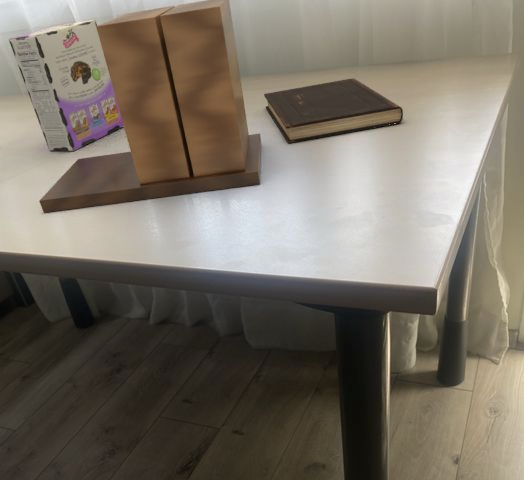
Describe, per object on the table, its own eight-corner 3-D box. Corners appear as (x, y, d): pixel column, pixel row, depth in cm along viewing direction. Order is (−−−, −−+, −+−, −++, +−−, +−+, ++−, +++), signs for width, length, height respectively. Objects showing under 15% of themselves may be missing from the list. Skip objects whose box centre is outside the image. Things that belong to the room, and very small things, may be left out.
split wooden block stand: (43, 212, 63) (-24, 46, 53) (81, 169, 76) (33, 28, 66) (260, 184, 61) (234, 4, 50) (261, 144, 74) (241, -6, 63)
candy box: (101, 126, 97) (70, 22, 87) (127, 126, 94) (97, 18, 84) (47, 151, 87) (5, 37, 77) (74, 151, 85) (33, 33, 75)
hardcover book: (288, 143, 72) (286, 126, 71) (265, 108, 91) (264, 93, 89) (403, 123, 72) (403, 105, 71) (357, 92, 91) (357, 77, 90)
